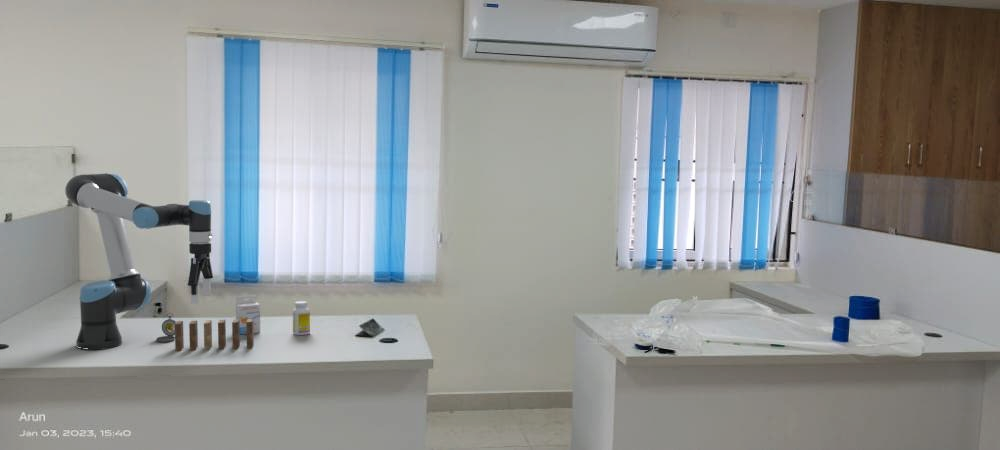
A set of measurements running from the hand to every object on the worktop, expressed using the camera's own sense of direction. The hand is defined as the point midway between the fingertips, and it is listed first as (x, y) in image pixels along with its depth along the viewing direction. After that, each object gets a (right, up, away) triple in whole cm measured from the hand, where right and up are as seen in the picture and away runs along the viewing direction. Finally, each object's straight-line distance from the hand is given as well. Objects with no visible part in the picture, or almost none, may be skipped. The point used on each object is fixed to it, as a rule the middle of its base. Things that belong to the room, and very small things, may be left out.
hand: (200, 299), depth 291 cm
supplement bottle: (+30, -16, +26) cm, 44 cm away
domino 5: (+17, -18, +5) cm, 25 cm away
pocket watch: (-18, -17, +13) cm, 28 cm away
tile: (+2, -18, +2) cm, 18 cm away
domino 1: (-8, -18, 0) cm, 20 cm away
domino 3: (+7, -18, +3) cm, 20 cm away
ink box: (+9, -16, +27) cm, 33 cm away
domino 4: (+12, -18, +4) cm, 22 cm away
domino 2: (-3, -18, +1) cm, 18 cm away
